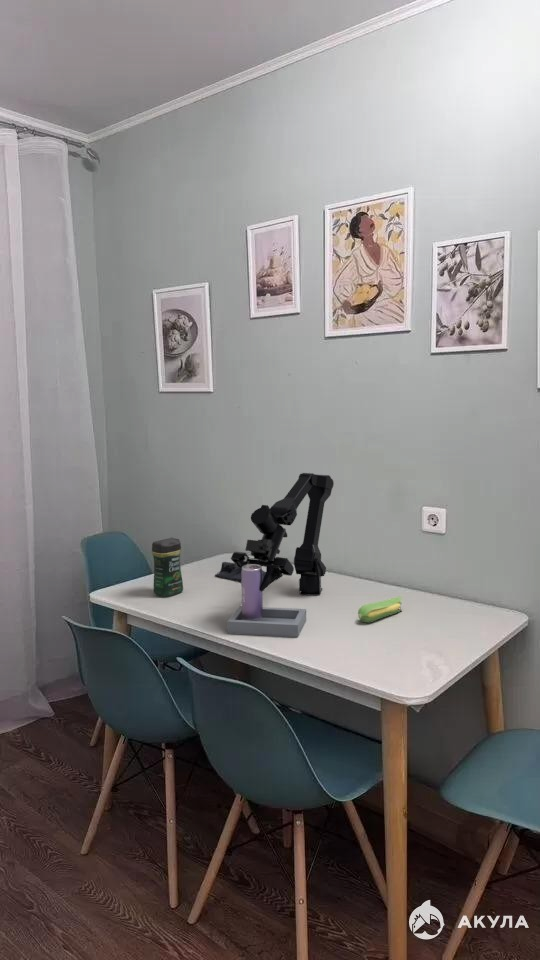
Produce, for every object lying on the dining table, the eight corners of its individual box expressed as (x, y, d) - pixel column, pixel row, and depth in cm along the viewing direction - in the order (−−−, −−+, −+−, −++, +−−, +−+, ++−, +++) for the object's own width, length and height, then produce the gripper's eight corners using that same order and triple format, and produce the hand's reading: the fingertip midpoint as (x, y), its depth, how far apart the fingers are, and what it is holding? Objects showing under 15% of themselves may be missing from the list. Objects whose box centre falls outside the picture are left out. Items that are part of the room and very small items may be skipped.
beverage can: (265, 619, 198) (265, 568, 196) (245, 622, 196) (244, 571, 194) (259, 612, 204) (258, 562, 201) (239, 614, 202) (238, 564, 199)
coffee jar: (165, 599, 226) (162, 543, 224) (150, 594, 232) (146, 540, 229) (187, 591, 234) (185, 537, 231) (172, 587, 239) (169, 534, 236)
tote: (306, 620, 203) (306, 609, 202) (298, 637, 190) (297, 625, 190) (240, 617, 208) (239, 606, 207) (228, 633, 195) (227, 621, 194)
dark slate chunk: (253, 589, 236) (252, 575, 235) (211, 577, 251) (210, 564, 251) (284, 579, 246) (284, 566, 245) (242, 567, 262) (242, 555, 261)
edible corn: (351, 607, 201) (362, 606, 197) (399, 594, 213) (410, 593, 209) (355, 625, 200) (366, 625, 197) (402, 611, 212) (413, 610, 209)
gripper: (232, 525, 205) (212, 571, 197) (287, 530, 195) (267, 579, 188) (248, 544, 213) (229, 589, 205) (301, 551, 203) (283, 598, 195)
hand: (251, 589), depth 198 cm, fingers closed on beverage can, 6 cm apart
